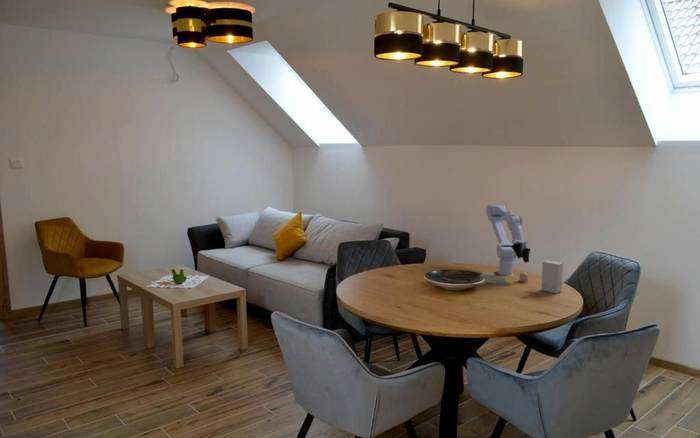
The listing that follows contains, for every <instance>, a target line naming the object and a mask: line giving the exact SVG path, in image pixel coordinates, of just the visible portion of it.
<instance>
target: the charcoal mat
mask: <svg viewBox="0 0 700 438" xmlns="http://www.w3.org/2000/svg"><path fill="white" fill-rule="evenodd" d="M495 278H496V283H483V284H481V285H482V286H498V287H511V285H510V284H509V281H507V280H506V279H505V277H495ZM481 285H480V286H481Z"/></svg>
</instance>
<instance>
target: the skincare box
mask: <svg viewBox="0 0 700 438" xmlns="http://www.w3.org/2000/svg"><path fill="white" fill-rule="evenodd" d="M541 268H542V269H541V270H542V271H541V291H542V290H543V291H542V292H547V291H548V292H547V293H552V294H556V293H557V294H560V293H562V292H563V291H562V290H563V270H564V269H563V268H564V263H563V262H560V261H554V260H545V261H542V267H541ZM559 292H560V293H559Z"/></svg>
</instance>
